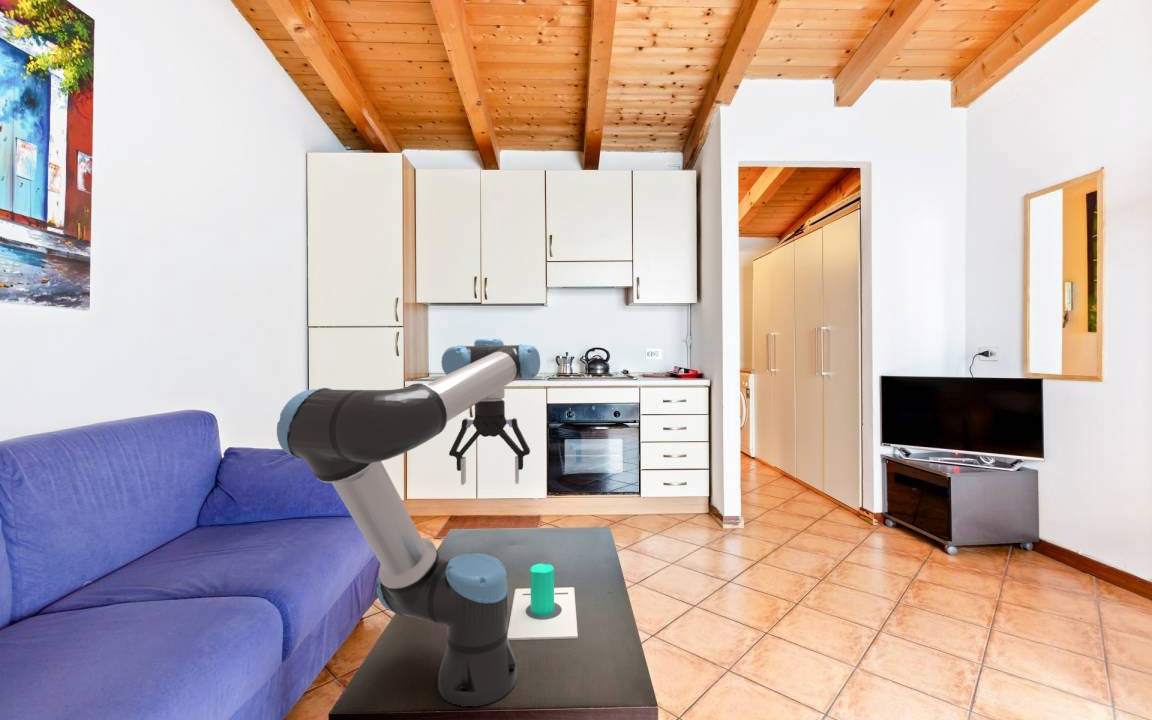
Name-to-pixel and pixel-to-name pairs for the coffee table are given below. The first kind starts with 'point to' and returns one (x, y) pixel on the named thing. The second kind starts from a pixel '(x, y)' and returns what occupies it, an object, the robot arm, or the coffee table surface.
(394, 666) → the coffee table surface
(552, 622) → the paper pad
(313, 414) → the robot arm
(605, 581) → the coffee table surface
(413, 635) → the coffee table surface
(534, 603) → the candle
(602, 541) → the coffee table surface
